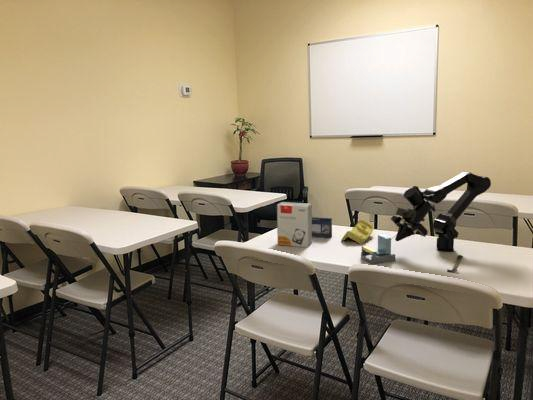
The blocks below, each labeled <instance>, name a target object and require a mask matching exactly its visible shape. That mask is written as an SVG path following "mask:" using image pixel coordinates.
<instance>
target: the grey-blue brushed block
mask: <svg viewBox="0 0 533 400" xmlns="http://www.w3.org/2000/svg"><path fill="white" fill-rule="evenodd" d="M374 250H375V251H377V256H384V255H391V254H392V237H390V236H388V235H386V234H383V233H382V234H378V235H377V249H374Z"/></svg>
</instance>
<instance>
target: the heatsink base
mask: <svg viewBox="0 0 533 400" xmlns="http://www.w3.org/2000/svg"><path fill="white" fill-rule="evenodd" d="M375 250H376V249H373V248H370V247H368V246H367V245H362V246H361V252H360V258H361V259H362V260H364V261H365V262H367V263H369V264H371V265H377V264H383V263H384V262H385V263H389V262H396V259H397V258H396V254H394V253H391V255H384V256H377V251H375Z"/></svg>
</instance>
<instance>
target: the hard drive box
mask: <svg viewBox="0 0 533 400" xmlns="http://www.w3.org/2000/svg"><path fill="white" fill-rule="evenodd" d="M312 205H313V204H312V203H304V202H291V201H290V202H289V201H287V202H286V201H281V202H279V203H277V204H276V224H277V225H276V229H277V231H276V232H277V234H276V235H277V245H280V246H290V247H299V248H309V247H310V246H311V245H312V244H313V241H312V239H313V237H312V217H313V216H312V214H313V213H312V212H313V211H312Z"/></svg>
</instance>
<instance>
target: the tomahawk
mask: <svg viewBox="0 0 533 400" xmlns="http://www.w3.org/2000/svg"><path fill="white" fill-rule="evenodd" d="M463 258H464V256H463V255H460V254H459V255H457V258H456V260H455V262H454V265H453V267H452V269H449V268H448V269H447V270H446V272H447V273H451V274H460V272H459V271H458V267H459V265H460V263H461V261H462V259H463Z"/></svg>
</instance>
